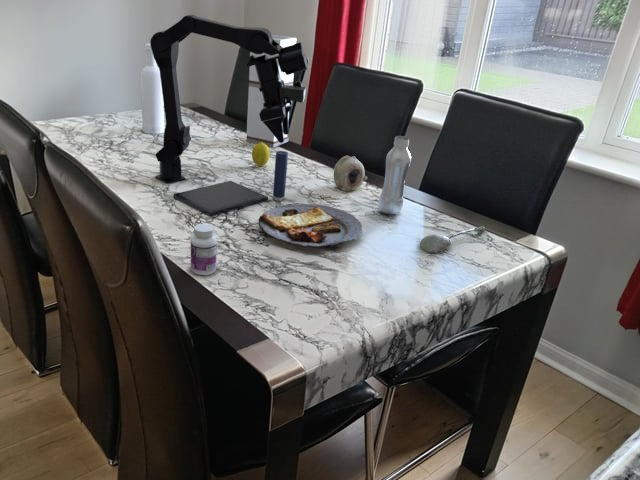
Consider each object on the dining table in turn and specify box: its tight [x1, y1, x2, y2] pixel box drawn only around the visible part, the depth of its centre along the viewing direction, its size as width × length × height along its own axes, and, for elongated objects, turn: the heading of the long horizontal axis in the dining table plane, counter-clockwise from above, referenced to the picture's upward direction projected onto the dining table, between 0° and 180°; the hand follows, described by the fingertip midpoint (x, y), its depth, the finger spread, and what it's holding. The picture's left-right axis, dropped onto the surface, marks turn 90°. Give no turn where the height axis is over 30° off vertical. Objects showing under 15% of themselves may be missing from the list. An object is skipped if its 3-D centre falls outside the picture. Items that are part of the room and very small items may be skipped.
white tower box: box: [245, 34, 298, 149], centre depth 201 cm, size 11×11×35 cm
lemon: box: [251, 142, 271, 168], centre depth 180 cm, size 6×6×8 cm
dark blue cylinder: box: [272, 150, 289, 202], centre depth 155 cm, size 3×3×13 cm
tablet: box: [173, 180, 269, 217], centre depth 156 cm, size 16×20×1 cm
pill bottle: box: [190, 223, 218, 276], centre depth 117 cm, size 5×5×10 cm
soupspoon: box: [419, 225, 486, 254], centre depth 139 cm, size 22×3×7 cm
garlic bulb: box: [333, 155, 368, 192], centre depth 168 cm, size 9×8×10 cm
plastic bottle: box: [377, 135, 412, 215], centre depth 149 cm, size 6×7×20 cm
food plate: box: [258, 202, 363, 248], centre depth 139 cm, size 25×23×4 cm
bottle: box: [140, 43, 165, 135], centre depth 205 cm, size 8×8×30 cm
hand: (284, 138), depth 157 cm, fingers open, 9 cm apart
